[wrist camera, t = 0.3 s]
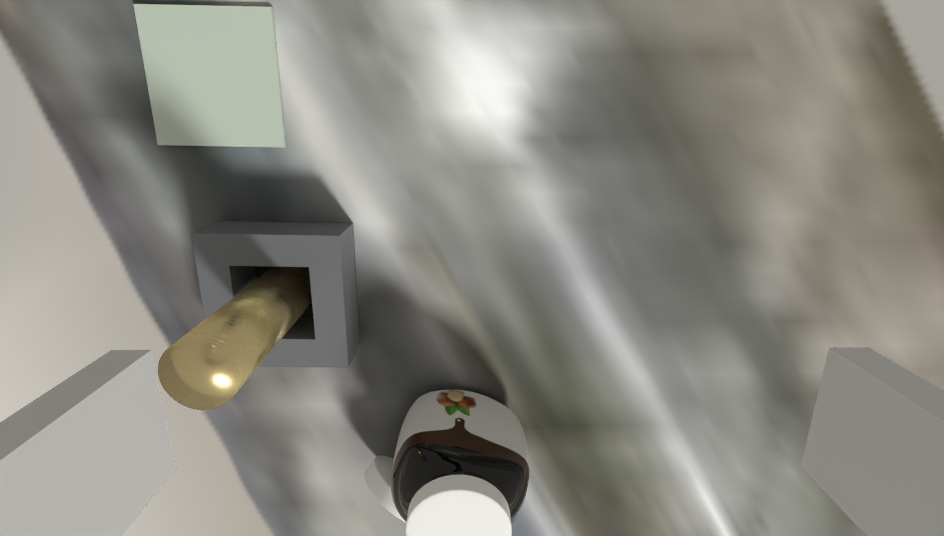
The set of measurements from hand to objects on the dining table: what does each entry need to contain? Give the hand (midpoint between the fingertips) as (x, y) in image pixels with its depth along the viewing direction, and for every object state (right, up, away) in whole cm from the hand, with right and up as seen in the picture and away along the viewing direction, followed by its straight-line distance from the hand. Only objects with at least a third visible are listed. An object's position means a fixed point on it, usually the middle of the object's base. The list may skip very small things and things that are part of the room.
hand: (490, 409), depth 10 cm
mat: (-18, +16, +24) cm, 34 cm away
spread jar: (-3, -12, +33) cm, 35 cm away
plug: (-14, +2, +29) cm, 32 cm away
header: (-14, +2, +29) cm, 32 cm away
